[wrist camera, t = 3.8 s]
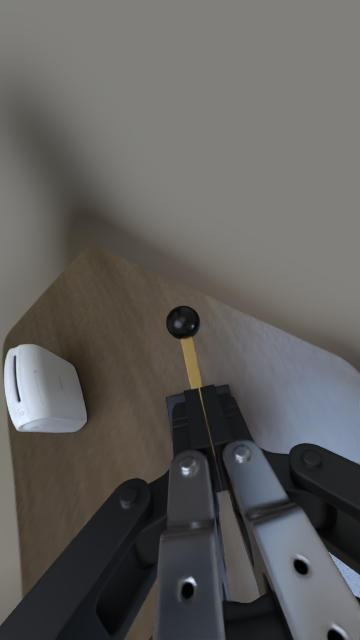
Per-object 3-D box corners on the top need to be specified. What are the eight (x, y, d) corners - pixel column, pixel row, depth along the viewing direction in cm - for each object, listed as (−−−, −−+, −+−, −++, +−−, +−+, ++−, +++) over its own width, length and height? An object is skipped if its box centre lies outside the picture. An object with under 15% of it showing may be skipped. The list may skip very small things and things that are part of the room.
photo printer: (92, 425, 35) (40, 418, 24) (63, 438, 35) (-3, 437, 24) (77, 362, 40) (27, 332, 29) (51, 373, 40) (-9, 346, 28)
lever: (164, 309, 25) (161, 309, 22) (195, 303, 25) (197, 301, 22) (192, 444, 25) (194, 462, 22) (223, 437, 25) (229, 455, 22)
